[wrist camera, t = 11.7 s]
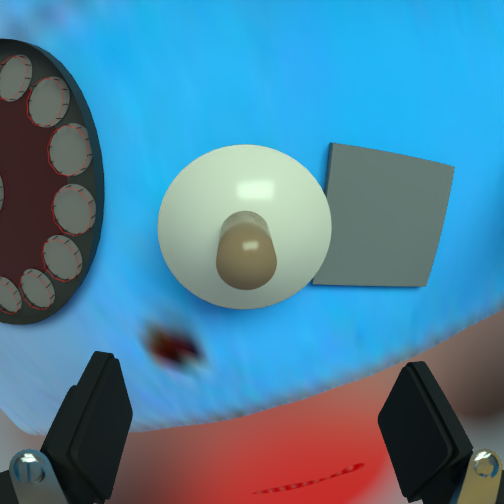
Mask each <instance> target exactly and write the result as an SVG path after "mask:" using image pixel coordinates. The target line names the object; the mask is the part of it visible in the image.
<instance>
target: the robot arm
mask: <svg viewBox="0 0 504 504" xmlns="http://www.w3.org/2000/svg"><path fill="white" fill-rule="evenodd" d="M132 415H133V412H132V407H131V404H130V400H129V397H128V393H127V390H126V386H125V382H124V378H123V375H122V371H121V367H120V362H119V360H118V359H116V358H114V355H113V354H112V353H106V352H100V351H95V352H94V353H93V355H92V357H91V359H90V361H89V363H88V365H87V366H86V368H85V370H84V372H83V374H82V376H81V378H80V380H79V382H78V384H77V385H73V386H72V387H71V388H70V389H69V391H68V392H67V394H66V396H65V398H64V400H63V402H62V404H61V407H60V409H59V411H58V413H57V415H56V417H55V419H54V421H53V423H52V425H51V427H50V430H49V432H48V434H47V436H46V438H45V441H44V443H43V445H42V447H41V450H40V452H39V451H37V450H33V449H26V450H22V451H20V452H18V453H17V454H16V455H15V456H13V458H12V460H11V461H10V466H9V470H7V471H4V472H1V473H0V504H93V503H97V504H104V502H105V499H107V500H108V499H110V497H111V494H112V490H113V486H114V482H115V478H116V474H117V471H118V467H119V463H120V459H121V456H122V452H123V449H124V445H125V441H126V438H127V434H128V431H129V428H130V424H131V421H132ZM378 425H379V427H380V430H381V433H382V436H383V439H384V441H385V444H386V447H387V450H388V453H389V455H390V459H391V462H392V465H393V467H394V470H395V474H396V477H397V480H398V483H399V486H400V489H401V491H402V494H403V496H404V497H407V500H408V502H409V503H411V502H414V501H418V500H421V499H422V501H423V504H504V470H502V463H501V459H500V458H499V456H498V455H497V454H496V453H495V452H494V451H492V450H490V449H485V448H484V449H479V450H477V451H475V452H474V453H473V451H472V449H473V446H472V444H471V442H470V441H469V439H468V437H467V435H466V433H465V431H464V429H463V427H462V425H461V423H460V422H459V420H458V418H457V416H456V414H455V412H454V411H453V409H452V407H451V405H450V404H449V402H448V400H447V398H446V397H445V395H444V393H443V391H442V390H441V388H440V387H439V385H438V383H437V381H436V380H435V378H434V376H433V375H432V373H431V371H430V370H429V368H428V366H427V365H426V363H425V362H423V361H419V362H409V363H407V364H406V366H405V367H403V368H402V370H401V372H400V374H399V376H398V378H397V380H396V382H395V384H394V386H393V388H392V390H391V392H390V394H389V396H388V398H387V400H386V402H385V404H384V406H383V408H382V410H381V411H380V413H379V415H378Z"/></svg>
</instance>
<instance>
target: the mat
mask: <svg viewBox="0 0 504 504" xmlns="http://www.w3.org/2000/svg"><path fill="white" fill-rule="evenodd" d="M454 168H455V167H453V166H450V165H446V164H442V163H438V162H434V161H429V160H425V159H420V158H416V157H411V156H406V155H401V154H396V153H391V152H386V151H381V150H375V149H369V148H363V147H357V146H351V145H344V144H337V143H330V149H329V158H328V167H327V175H326V183H325V190H324V194H325V196H326V199H327V202H328V205H329V209H330V214H331V226H332V230H331V240H330V244H329V248H328V251H327V254H326V257H325V259H324V261H323V263H322V265H321V267H320V269H319V270H318V271H317V273H316V274H315V276H314V277H313V278H312V279H311V281H312V283H313V284H323V285H359V286H420V287H426V285H427V281H428V278H429V275H430V272H431V268H432V265H433V262H434V258H435V254H436V251H437V247H438V243H439V240H440V236H441V232H442V228H443V223H444V219H445V215H446V210H447V206H448V201H449V196H450V191H451V185H452V180H453V174H454Z"/></svg>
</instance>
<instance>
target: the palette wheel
mask: <svg viewBox="0 0 504 504" xmlns="http://www.w3.org/2000/svg"><path fill="white" fill-rule="evenodd" d="M103 208H104V173H103V165H102V156H101V150H100V145H99V140H98V135H97V131H96V127H95V124H94V121H93V118H92V115H91V112H90V109H89V107H88V105H87V102H86V100H85V98H84V96H83V93H82V91H81V90H80V88H79V86H78V85H77V83H76V81H75V80H74V78H73V76H72V75H71V74H70V73H69V72H68V70H67V69H66V68H65V67H64V65H63V64H62V63H61V62H60V61H59V60H57V59H56V58H55V57H54V56H53V55H52V54H50V53H49V52H47V51H45V50H44V49H42V48H40V47H38V46H36V45H33V44H29V43H26V42H23V41H18V40H13V39H0V322H3V323H8V324H19V325H25V324H31V323H36V322H38V321H41V320H44V319H46V318H48V317H49V316H51V315H53V314H54V313H56V312H57V311H58V310H59V309H60V308H61V307H62V306H64V305H65V304H66V302H67V301H68V300H69V298H70V297H71V296H72V295H73V293H74V292H75V291H76V290H77V288H78V287H79V286H80V285H81V283H82V281H83V280H84V278H85V276H86V274H87V273H88V271H89V268H90V266H91V263H92V261H93V259H94V256H95V253H96V249H97V245H98V242H99V238H100V232H101V226H102V220H103Z"/></svg>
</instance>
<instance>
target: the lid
mask: <svg viewBox="0 0 504 504" xmlns="http://www.w3.org/2000/svg"><path fill="white" fill-rule="evenodd" d="M331 230H332V226H331V214H330V209H329V205H328V202H327V199H326V196H325V194H324V192H323V190H322V188H321V187H320V185H319V184H318V182H317V181H316V179H315V178H314V177H313V176H312V174H311V173H310V172H309V171H308V170H307V169H306V168H305V167H304V166H302V165H301V164H300V163H299V162H297V161H296V160H295V159H293V158H291V157H290V156H288V155H286V154H284V153H282V152H280V151H278V150H275V149H272V148H269V147H265V146H260V145H252V144H238V145H230V146H225V147H221V148H218V149H215V150H212V151H210V152H208V153H205V154H203V155H202V156H200V157H199V158H197V159H195V160H194V161H193V162H191V163H190V164H189V165H188V166H186V167H185V168H184V169H183V170H182V171H181V172H180V173H179V174H178V175H177V177H176V178H175V179H174V180H173V182H172V183H171V185H170V186H169V188H168V190H167V192H166V194H165V196H164V198H163V201H162V204H161V207H160V211H159V217H158V239H159V244H160V249H161V252H162V255H163V257H164V260H165V262H166V264H167V266H168V267H169V269H170V271H171V272H172V274H173V275H174V276H175V278H176V279H177V280H178V281H179V282H180V283H181V284H182V285H183V286H184V287H185V288H186V289H188V290H189V291H190V292H191V293H193V294H194V295H196V296H197V297H199V298H201V299H203V300H205V301H207V302H209V303H212V304H215V305H218V306H221V307H226V308H231V309H256V308H262V307H267V306H271V305H273V304H276V303H279V302H281V301H283V300H285V299H287V298H289V297H291V296H292V295H294V294H295V293H297V292H298V291H300V290H301V289H302V288H303V287H304V286H306V285H307V284H308V282H309V281H310V280H311V279H312V278H313V277H314V276H315V274H316V273H317V271H318V270H319V269H320V267H321V265H322V263H323V261H324V259H325V257H326V254H327V251H328V248H329V244H330V240H331Z"/></svg>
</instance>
